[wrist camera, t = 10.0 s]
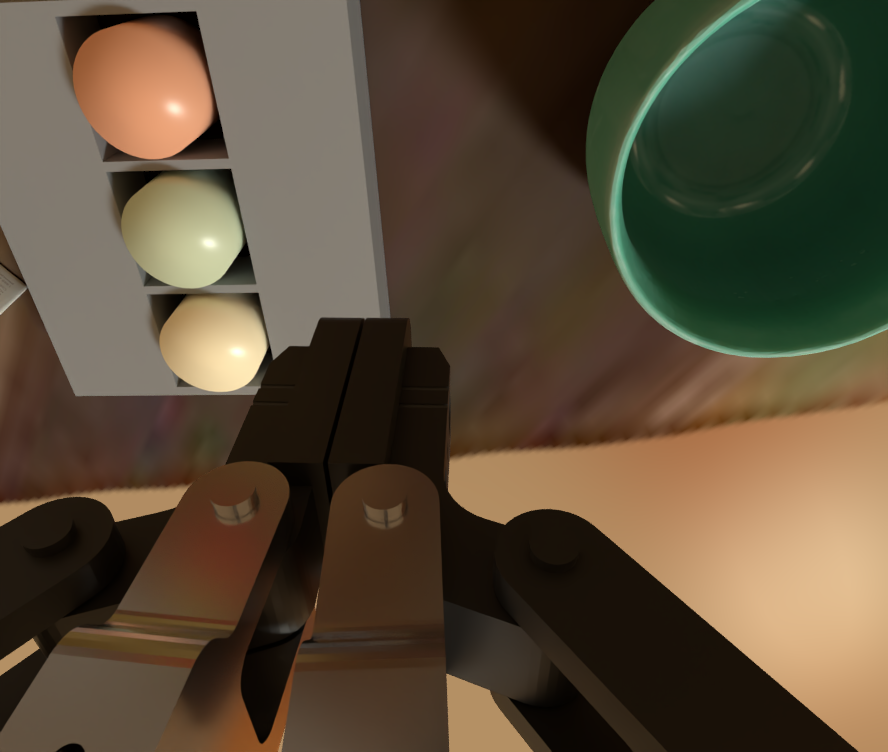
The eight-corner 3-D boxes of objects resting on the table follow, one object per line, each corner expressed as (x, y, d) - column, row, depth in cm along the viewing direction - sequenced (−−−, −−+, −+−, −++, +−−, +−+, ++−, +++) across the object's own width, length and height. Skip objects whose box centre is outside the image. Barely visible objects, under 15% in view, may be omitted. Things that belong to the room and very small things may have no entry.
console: (-43, -2, 26) (-96, 6, 24) (357, -19, 26) (345, -12, 23) (102, 363, 36) (75, 396, 34) (394, 360, 35) (388, 393, 33)
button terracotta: (99, 16, 26) (53, 29, 23) (214, 11, 26) (181, 24, 23) (134, 136, 29) (97, 160, 26) (239, 132, 29) (212, 157, 26)
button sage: (141, 159, 29) (105, 186, 27) (244, 156, 29) (218, 183, 26) (170, 255, 32) (140, 289, 29) (264, 253, 32) (243, 287, 29)
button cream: (175, 274, 33) (146, 309, 30) (268, 272, 32) (248, 307, 29) (199, 353, 35) (174, 392, 32) (284, 352, 35) (267, 391, 32)
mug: (642, 296, 33) (695, 415, 25) (517, 62, 27) (534, 122, 19) (1024, 105, 27) (1243, 183, 19) (969, -242, 21) (1252, -330, 14)
